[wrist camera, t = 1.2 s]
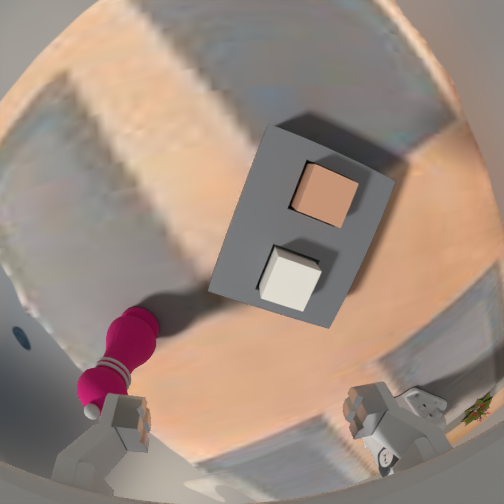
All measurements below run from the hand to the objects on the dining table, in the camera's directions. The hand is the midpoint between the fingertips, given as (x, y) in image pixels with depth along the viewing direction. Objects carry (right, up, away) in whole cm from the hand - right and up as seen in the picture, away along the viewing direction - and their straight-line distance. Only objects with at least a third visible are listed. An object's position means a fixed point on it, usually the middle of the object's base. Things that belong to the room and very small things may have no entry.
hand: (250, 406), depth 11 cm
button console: (+6, +10, +29) cm, 31 cm away
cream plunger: (+4, +4, +26) cm, 27 cm away
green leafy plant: (+60, -36, +44) cm, 83 cm away
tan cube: (+8, +13, +23) cm, 28 cm away
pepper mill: (-17, -5, +32) cm, 37 cm away
